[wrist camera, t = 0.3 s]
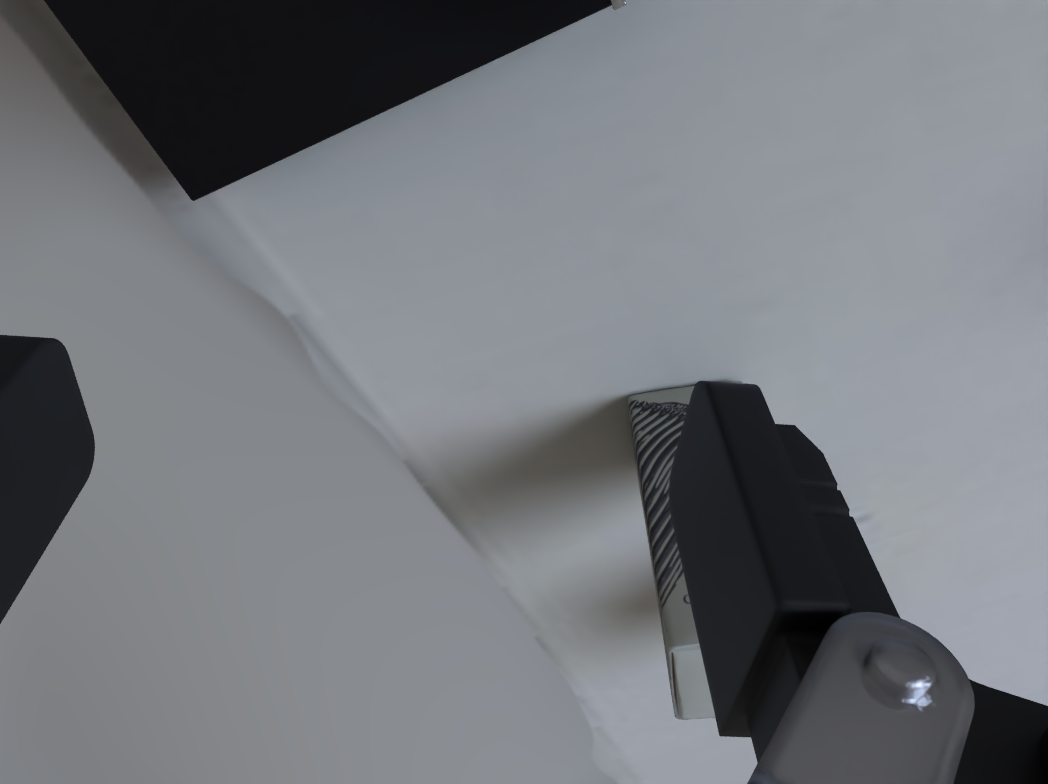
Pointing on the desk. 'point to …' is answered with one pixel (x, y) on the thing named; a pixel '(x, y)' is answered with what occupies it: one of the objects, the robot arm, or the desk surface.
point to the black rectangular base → (286, 67)
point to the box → (668, 544)
